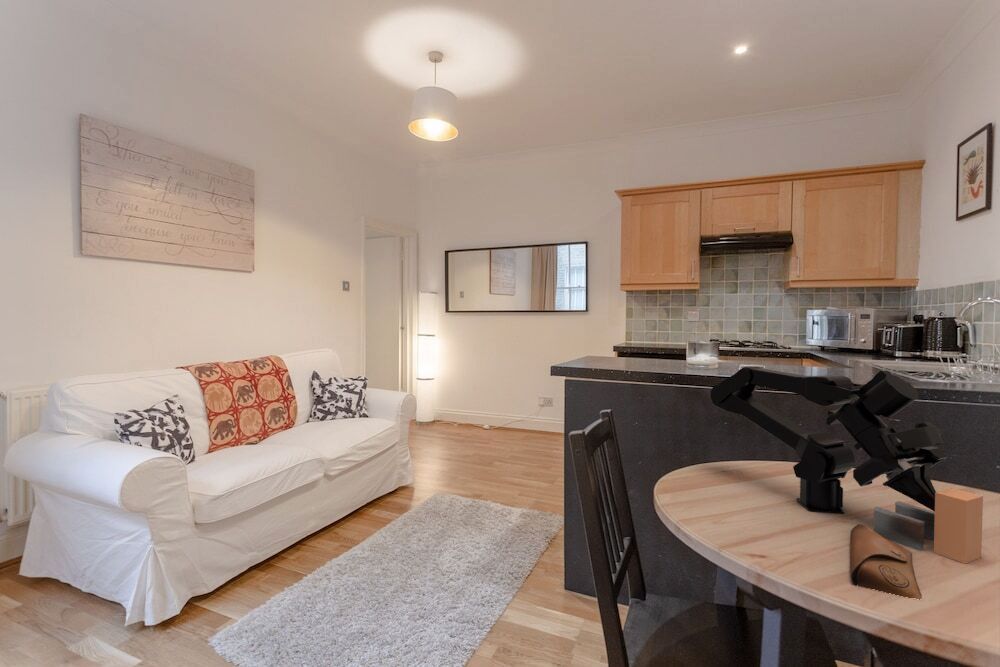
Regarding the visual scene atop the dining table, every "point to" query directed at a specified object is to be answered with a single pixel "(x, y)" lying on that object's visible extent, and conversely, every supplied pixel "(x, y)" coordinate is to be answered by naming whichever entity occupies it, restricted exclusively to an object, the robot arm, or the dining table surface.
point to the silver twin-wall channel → (905, 524)
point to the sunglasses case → (881, 564)
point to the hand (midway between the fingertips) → (940, 511)
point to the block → (958, 525)
